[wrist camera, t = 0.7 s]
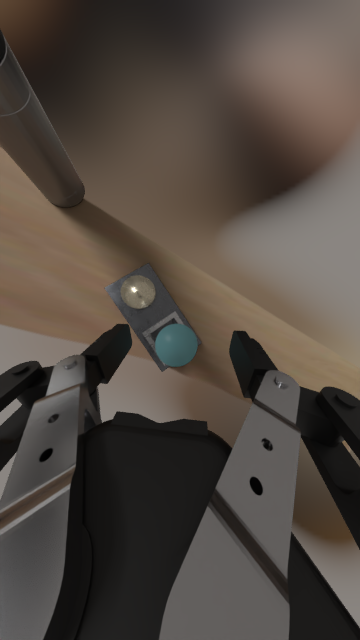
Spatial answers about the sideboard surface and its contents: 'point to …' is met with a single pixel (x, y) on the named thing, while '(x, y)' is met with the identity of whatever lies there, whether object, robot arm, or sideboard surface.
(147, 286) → the filter housing
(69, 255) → the sideboard surface
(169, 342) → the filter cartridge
